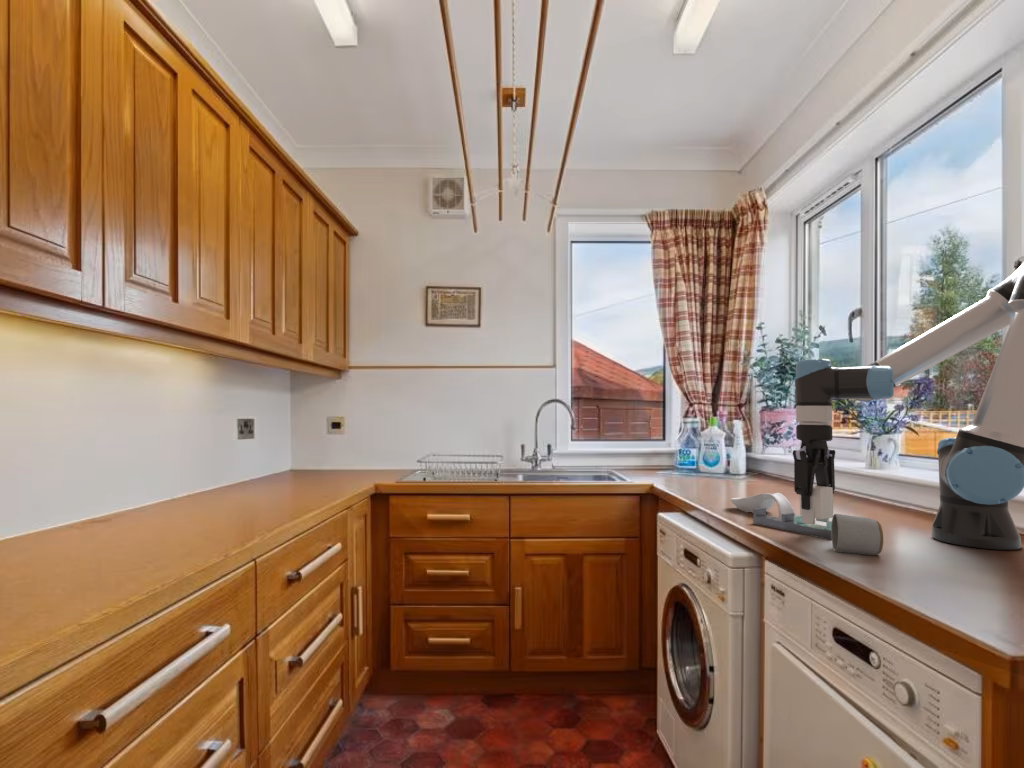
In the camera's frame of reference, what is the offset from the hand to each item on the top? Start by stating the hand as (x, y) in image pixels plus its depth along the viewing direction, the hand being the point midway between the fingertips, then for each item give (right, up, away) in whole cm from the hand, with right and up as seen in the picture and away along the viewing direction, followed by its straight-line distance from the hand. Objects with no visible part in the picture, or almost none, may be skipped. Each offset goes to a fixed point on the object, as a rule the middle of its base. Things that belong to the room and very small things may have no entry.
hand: (815, 522), depth 125 cm
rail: (-3, -3, +4) cm, 6 cm away
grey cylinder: (-1, -2, -15) cm, 16 cm away
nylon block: (0, +1, 0) cm, 1 cm away
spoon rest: (0, -5, +25) cm, 26 cm away
